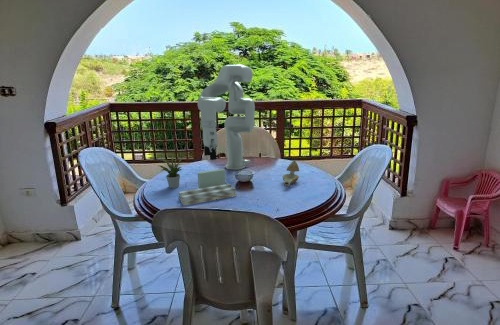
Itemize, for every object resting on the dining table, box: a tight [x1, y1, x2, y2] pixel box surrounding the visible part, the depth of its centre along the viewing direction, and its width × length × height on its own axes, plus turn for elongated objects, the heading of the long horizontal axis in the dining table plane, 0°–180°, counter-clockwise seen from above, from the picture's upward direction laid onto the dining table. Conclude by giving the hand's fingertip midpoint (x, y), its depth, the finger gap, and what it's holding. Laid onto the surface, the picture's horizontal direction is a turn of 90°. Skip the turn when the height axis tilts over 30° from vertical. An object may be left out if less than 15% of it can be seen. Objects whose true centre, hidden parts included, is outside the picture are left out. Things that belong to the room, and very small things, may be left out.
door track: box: [178, 183, 237, 206], centre depth 163 cm, size 26×10×4 cm, turn 114°
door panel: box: [197, 168, 226, 189], centre depth 175 cm, size 14×2×9 cm, turn 114°
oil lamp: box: [282, 159, 300, 187], centre depth 180 cm, size 9×21×10 cm, turn 162°
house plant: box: [157, 156, 186, 189], centre depth 178 cm, size 14×14×16 cm
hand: (210, 157), depth 172 cm, fingers open, 9 cm apart
